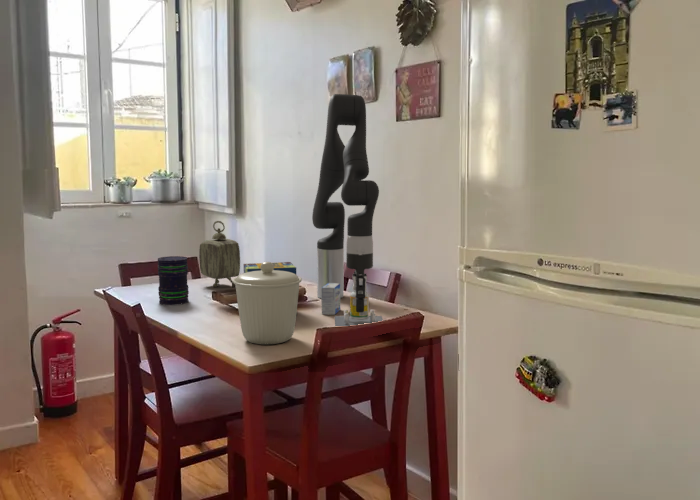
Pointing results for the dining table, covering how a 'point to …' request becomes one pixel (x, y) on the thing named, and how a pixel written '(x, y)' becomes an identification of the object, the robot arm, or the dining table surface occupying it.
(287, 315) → the canister
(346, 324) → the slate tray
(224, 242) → the tabletop clock
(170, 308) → the dining table surface
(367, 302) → the supplement bottle
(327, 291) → the medicine box
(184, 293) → the storage jar
